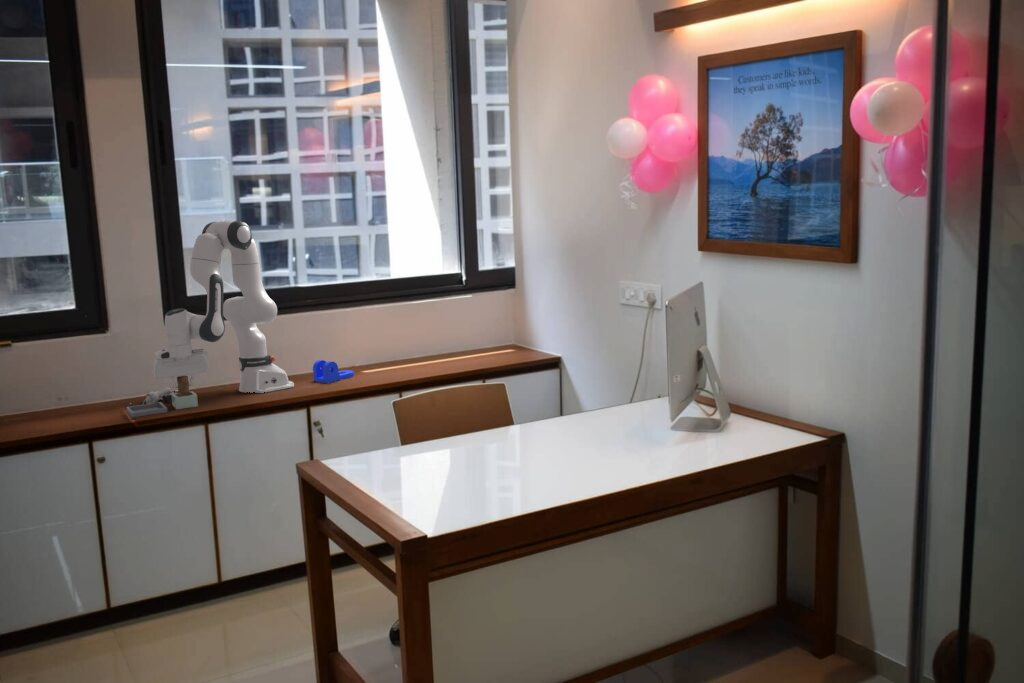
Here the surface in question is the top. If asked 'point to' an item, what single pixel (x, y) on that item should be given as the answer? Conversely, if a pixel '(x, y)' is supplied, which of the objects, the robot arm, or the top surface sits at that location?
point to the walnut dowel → (183, 386)
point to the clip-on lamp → (159, 396)
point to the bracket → (329, 372)
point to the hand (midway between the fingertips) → (183, 386)
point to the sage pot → (184, 400)
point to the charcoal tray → (146, 409)
